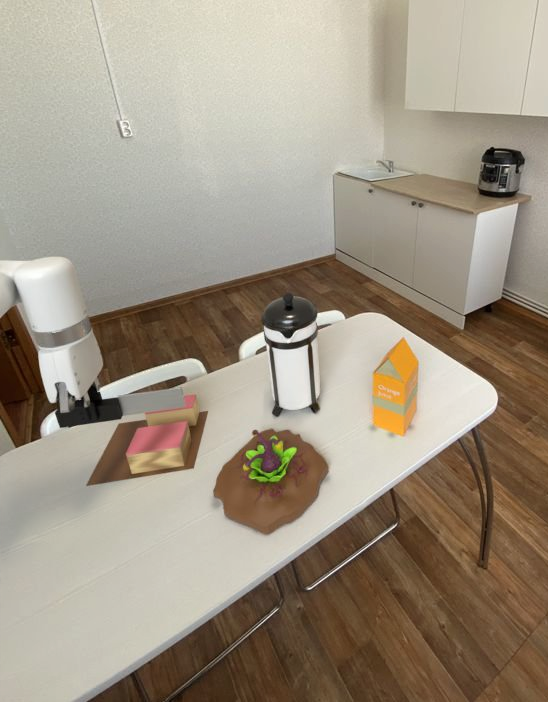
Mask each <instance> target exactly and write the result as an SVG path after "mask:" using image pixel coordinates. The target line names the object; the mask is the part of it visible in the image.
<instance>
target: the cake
mask: <svg viewBox="0 0 548 702" xmlns="http://www.w3.org/2000/svg"><path fill="white" fill-rule="evenodd" d="M199 412H200V413H199V416H198V420H197V423H196V425H194V426H188V422H187V421H184V422H177V423H170V424H163V425H156V426H149V427H148V423H147V420H146V419H140V420H134V421H127V422H120V423H118V424H117V425H116V428H115V430H114V431H113V433H112V435H111V437H110V439H109V440H108V443H107V445H106V447H105V448H104V450H103V452H102V454H101V456H100V458H99V460H98V461H97V464H96V466H95V468H94V469H93V471H92V474H91V475H90V477H89V479H88V480H87V483H86V485H85V486H86V487H89V486H95V485H102V484H108V483H114V482H119V481H127V480H132V479H138V478H145V477H150V476H151V477H152V476H157V475H163V474H169V473H175V472H180V471H188V470H194V469H195V465H196V461H197V457H198V453H199V449H200V446H201V442H202V438H203V433H204V429H205V426H206V422H207V418H208V415H209V410H205V411H199Z"/></svg>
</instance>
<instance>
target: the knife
mask: <svg viewBox="0 0 548 702" xmlns="http://www.w3.org/2000/svg"><path fill="white" fill-rule="evenodd" d="M184 396H185V395H184V389H183V387H182V386H180V387H172V388H165V389H158V390H157V389H156V390H150V391H143V392H134V393H127V394H119V395H117V396H116V397H107V398H102V399H100V400H94V401H90V403H91V402H93V403H94V406H95V409H96V412H97V415H98V421H97V422H94V423H87V424H81V425H79V424H78V423H77V421H76V418H75V415H74V412H73V410H72V411H71V412H66V413H61V412H60V405H59V406H58V407H57V409H56V410H55V411H54V416H55V418H56V421H57V424H58V428H59V429H62V428H70V427H71V428H72V427H78V426H84V425H85V426H86V425H91V424H98V423H104V422H112V421H120V420H122V418H123V417H125V416H132V415H139V414H145V413H147V412H154V411H161V410H168V409H175V408H182V407H186V404H185V399H184Z"/></svg>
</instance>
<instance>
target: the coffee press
mask: <svg viewBox="0 0 548 702" xmlns="http://www.w3.org/2000/svg"><path fill="white" fill-rule="evenodd" d="M317 318H318V309H317V307H316V306H315V305H314V304H313V303H312V301H311V300H309V299H307V298H304V297H301V296H297V295H296V296H295V295H293V294H292V293H290V292H286V293H284V295H283V297H279V298H276V299H275V300H273V301H271V302H269V304H268V305H267V306H266V307H265V308H264V310H263V312H262V314H261V315H260V320H261V324H262V325H263V339H264V343H265V346H266V355H267V362H268V363H267V364H268V372H269V380H270V389H271V396H272V400H273V402H274V406H273V408H272V412H271V414H272V415H273V416H274V417H275V418H279V416H280V415H281V413H282V411H283V410H287V411H297V410H298V411H299V410H302V409H305V408H307V407H309V409H310V410H311V412H312V413H313V414H317V413H318V412H319V411H320V410H321V409H320V406H319V404H318V402H317V400H318V398H319V396H320V393H321V376H320V360H319V359H320V358H319V344H318V342H319V341H318V335H319V330H318V329H319V328H318V323H317V322H318V321H317Z"/></svg>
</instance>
